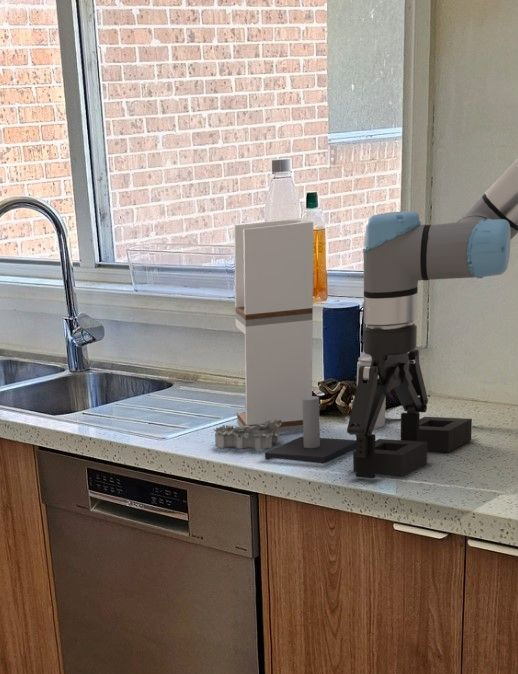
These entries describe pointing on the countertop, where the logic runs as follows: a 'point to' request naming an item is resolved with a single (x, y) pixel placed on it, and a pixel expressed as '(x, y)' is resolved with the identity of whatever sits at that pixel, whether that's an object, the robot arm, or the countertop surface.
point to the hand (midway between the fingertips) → (387, 465)
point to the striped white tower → (275, 318)
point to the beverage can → (381, 417)
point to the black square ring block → (397, 457)
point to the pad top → (444, 433)
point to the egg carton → (248, 435)
